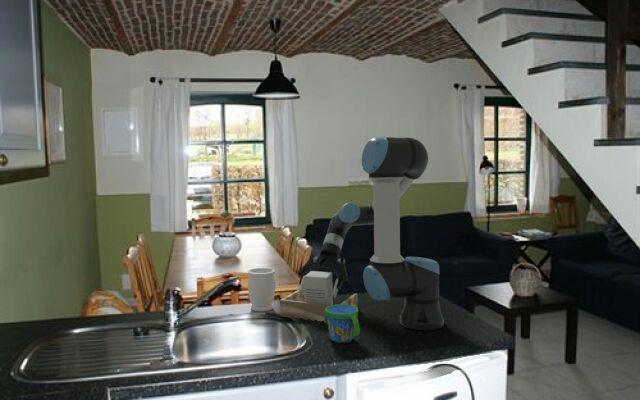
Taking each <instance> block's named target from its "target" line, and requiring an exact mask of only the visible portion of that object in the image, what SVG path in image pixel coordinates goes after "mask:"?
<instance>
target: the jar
mask: <svg viewBox="0 0 640 400" xmlns="http://www.w3.org/2000/svg"><path fill="white" fill-rule="evenodd" d="M274 274H276V270H275V269H274V268H269V267H258V268H257V267H256V268H251V269H249V270H247V275H248V280H247V292H248V298H249V301H250V304H251V306H250V309H251V310H252V311H254V312H269V311H272V309H274V306H273V302H274V301H275V300H274V299H275V293H276V292H275V291H276V279H275V275H274Z"/></svg>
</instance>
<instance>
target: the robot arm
mask: <svg viewBox="0 0 640 400" xmlns="http://www.w3.org/2000/svg"><path fill="white" fill-rule="evenodd" d="M428 164H429V154H428V150H427V148H426V147H425V145H424V144H423V143H422V142H421V141H420V140H419V139H417V138H413V137H387V136H382V137H373V138H371V139H369V140H368V141H367V142H366V144H365V145H364V147H363V151H362V154H361V166H362V169H363V171H364V173H367V175H368V179H369V180H370V181H371V183H372V184H373V185H372V186H373V201H372V203H371V204H370V205H365V206H364V205H362V206H361V205H360V206H359V205H358V204H357V203H355V202H354V203H353V202H350V201H349V202H346V203H345V204H344V205H342V206H341V207H340V208H339V210H338V211H337V212H335V213H334V214H332V215H331V216H332V217H331V219H330V221H329V224H328V225H329V226H328V228H327V231H326V235H325V237H324V240H323V242H322V246H321V249H320V252H319V256H315V255H314V254H311V256H310V257H309V259H308V260H307V262H306V263H305V264H304V265H303V266H302V267H301V268H300V269H299V270H298V271H297V275H298V276H299V278H300V279H299V287H298V289H297V290H298V291H299V292H300V294H303V291H304V276H306V275H307V274H308V273H309V272H310V271H318V270H321V269H326V270H327V269H329V270H330V269H332V271H334V273H335V276H337V278H336V279H335V282H334V285H333V292H332V295H333V299H336V298H337V295H338V291H339V290H341V288H342V285H343V283H344V282H346V283H347V282H348V281H349V277H348V272H347V269H346V259H345V258H344V256H342V257H340V254H341V251H342V248H343V244H344V241H345V237H346V235H347V233H348V231H349V230H350V229H351V227H353V226H367V225H370V226H371V225H373V240H374V241H373V242H374V245H373V249H374V251H373V253H374V254H373V255H372V256H371V258H369V265H367V266H366V267H364V270H363V274H362V277H363V278H362V279H363V284H364V287H365V290H366V291H367V293H368V295H369V296H370V297H371V298H372V299H374V300H375V301H389V300H394V299H400V298H401V299H403V298H404V302H403V306H402V309H401V312H400V315H399V324H400V325H401V326H402V327H404V328H407V329H410V330H416V331H435V330H439V329H441V328H443V327H444V326H445V325H444V323H445V322H444V320H445V319H444V316H443V314H442V309H441V305H440V302H439V301H440V264H439V263H438V261H436V260H434V259H430V258H426V257H420V256H419V257H418V256H406V257H403V256H402V255H401V229H400V228H401V226H400V225H401V220H400V219H401V218H400V216H401V213H400V208H401V207H400V202H401V200H400V199H401V197H402V196H403V195H404V194H405V192H406V191H407V190H408V189H409V187H410V186H411V185H412V183H413V182H414V181H416V180H417V179H419V178H421V176H422V175H424V173H425V171H426V170H427V167H428ZM337 264H340V267H341V272H342V275H341V273H340V272H339V270H338V268H337V266H336V265H337Z"/></svg>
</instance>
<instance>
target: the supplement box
mask: <svg viewBox="0 0 640 400" xmlns="http://www.w3.org/2000/svg"><path fill="white" fill-rule="evenodd" d="M333 289H334V285H333V272H332V271H318V270H317V271H310V272H309V273H308V274H307V275H306V276H304V302H309V303H318V304H326V305H334V302H333V300H334V297H333V295H332V292H333Z"/></svg>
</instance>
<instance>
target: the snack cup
mask: <svg viewBox="0 0 640 400" xmlns="http://www.w3.org/2000/svg"><path fill="white" fill-rule="evenodd" d="M358 315H359V309H358V307H357V308H356V307H355V306H351V305H345V304H341V303H339V304H333V305H331V306H328V307H326V309H325V318H324V321H325V322H324V323H325V324H326V325H327V327H328V335H329V340H330V341H332V342H335V343H337V344H348V343H350V342H352V341H353V340H354V337H357V336H359V335H360V333H361V328H360V323H359V322H360V321H359V319H358Z"/></svg>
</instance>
